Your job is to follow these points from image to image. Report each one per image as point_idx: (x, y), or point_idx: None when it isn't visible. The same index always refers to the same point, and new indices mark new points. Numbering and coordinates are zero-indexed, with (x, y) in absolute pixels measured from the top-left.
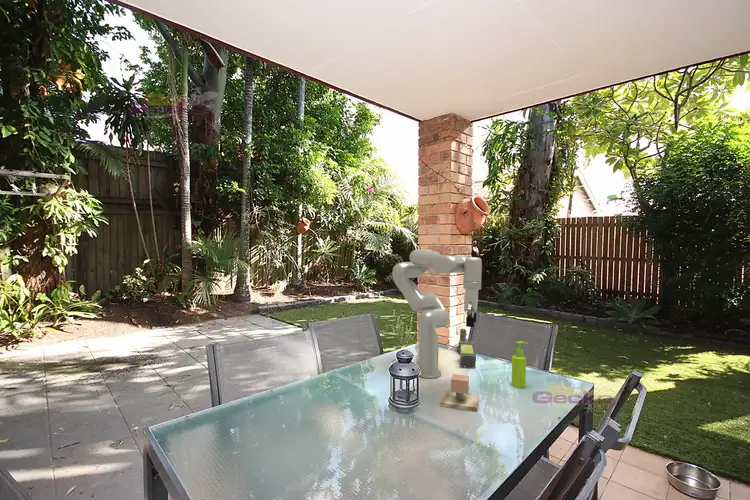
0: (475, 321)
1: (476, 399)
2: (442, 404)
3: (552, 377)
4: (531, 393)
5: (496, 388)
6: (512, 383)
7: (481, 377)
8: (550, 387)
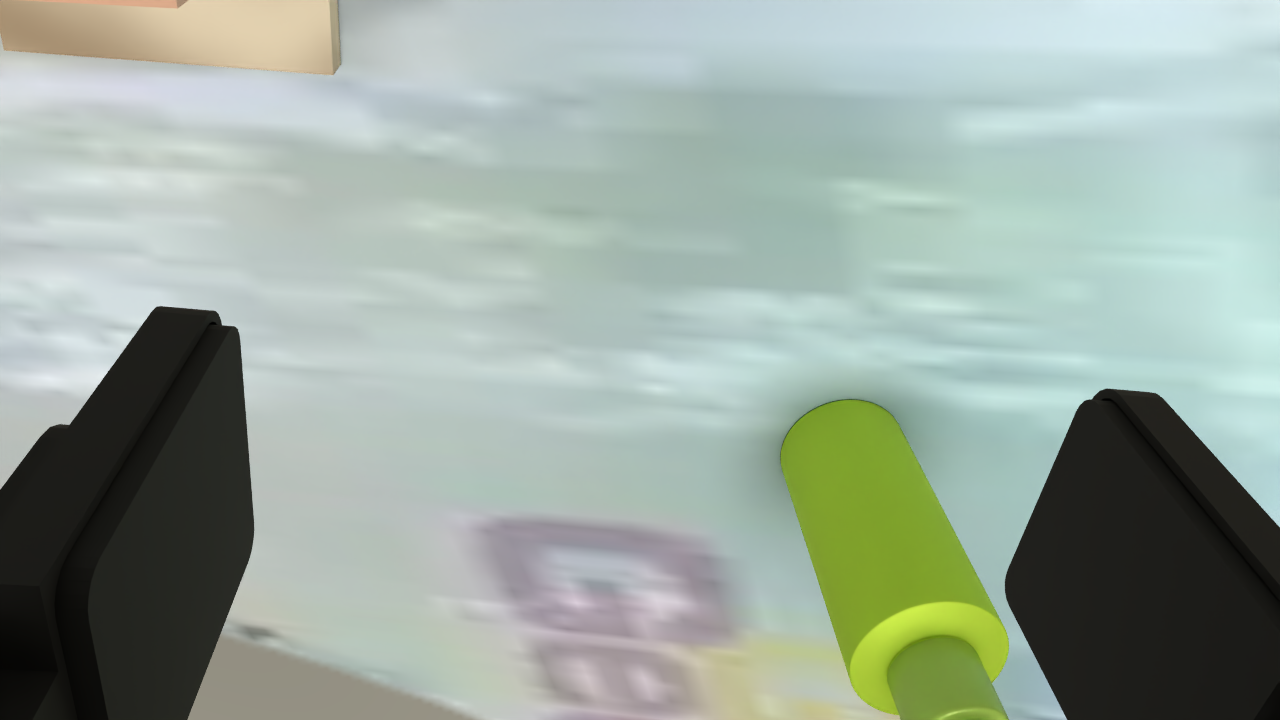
0: (1012, 600)
1: (232, 49)
2: None
3: None
4: (668, 524)
5: (718, 259)
6: (832, 413)
7: (1027, 117)
8: (832, 653)
